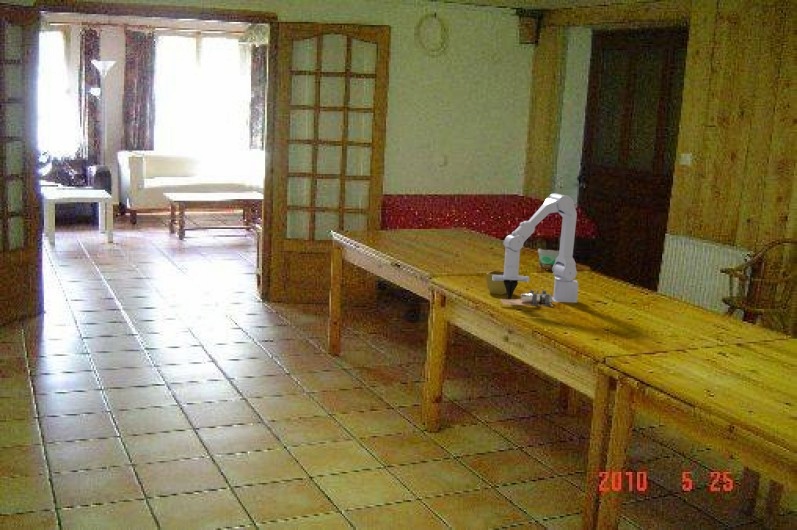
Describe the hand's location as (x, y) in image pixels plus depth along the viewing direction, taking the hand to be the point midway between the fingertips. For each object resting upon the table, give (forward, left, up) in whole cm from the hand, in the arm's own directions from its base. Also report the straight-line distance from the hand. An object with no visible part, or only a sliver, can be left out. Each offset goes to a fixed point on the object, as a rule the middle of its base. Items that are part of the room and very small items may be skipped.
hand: (509, 298), depth 329 cm
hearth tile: (-7, 0, -2) cm, 7 cm away
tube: (-11, 0, -1) cm, 11 cm away
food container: (-31, -74, -2) cm, 80 cm away
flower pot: (+2, -16, -2) cm, 16 cm away
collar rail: (-12, 0, -2) cm, 12 cm away
